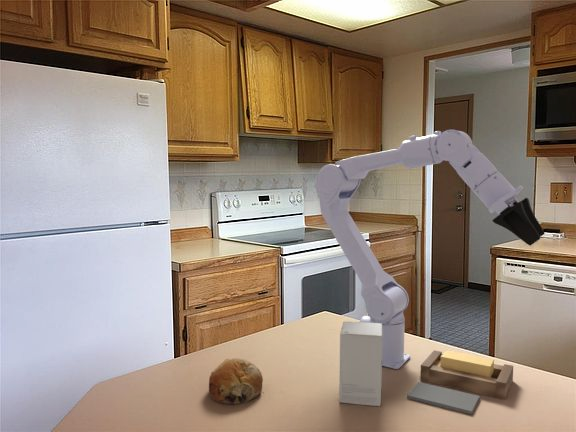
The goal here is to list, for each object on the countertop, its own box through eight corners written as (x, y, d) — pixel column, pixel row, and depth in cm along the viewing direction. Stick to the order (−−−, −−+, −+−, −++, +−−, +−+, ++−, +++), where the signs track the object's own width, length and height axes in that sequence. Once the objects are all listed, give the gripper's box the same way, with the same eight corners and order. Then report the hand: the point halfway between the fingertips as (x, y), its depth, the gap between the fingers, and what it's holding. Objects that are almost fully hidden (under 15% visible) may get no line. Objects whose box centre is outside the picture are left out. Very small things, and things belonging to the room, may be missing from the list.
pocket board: (420, 380, 95) (420, 365, 94) (433, 364, 102) (433, 350, 102) (505, 399, 87) (506, 383, 86) (512, 380, 94) (513, 365, 94)
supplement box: (381, 407, 84) (382, 335, 83) (338, 403, 86) (338, 333, 84) (381, 388, 91) (382, 322, 90) (342, 384, 93) (342, 320, 92)
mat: (407, 398, 87) (407, 395, 87) (418, 384, 93) (418, 381, 93) (471, 414, 81) (471, 411, 81) (479, 399, 87) (479, 396, 87)
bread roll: (267, 407, 92) (273, 363, 94) (247, 408, 83) (254, 359, 85) (219, 399, 95) (227, 357, 97) (195, 399, 86) (203, 352, 88)
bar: (440, 369, 95) (440, 356, 95) (445, 362, 98) (446, 350, 98) (489, 379, 90) (490, 366, 90) (493, 371, 94) (494, 359, 93)
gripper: (496, 166, 83) (554, 229, 79) (510, 167, 95) (560, 221, 91) (463, 193, 86) (517, 255, 82) (480, 190, 98) (528, 244, 94)
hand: (537, 239), depth 87 cm, fingers open, 7 cm apart
